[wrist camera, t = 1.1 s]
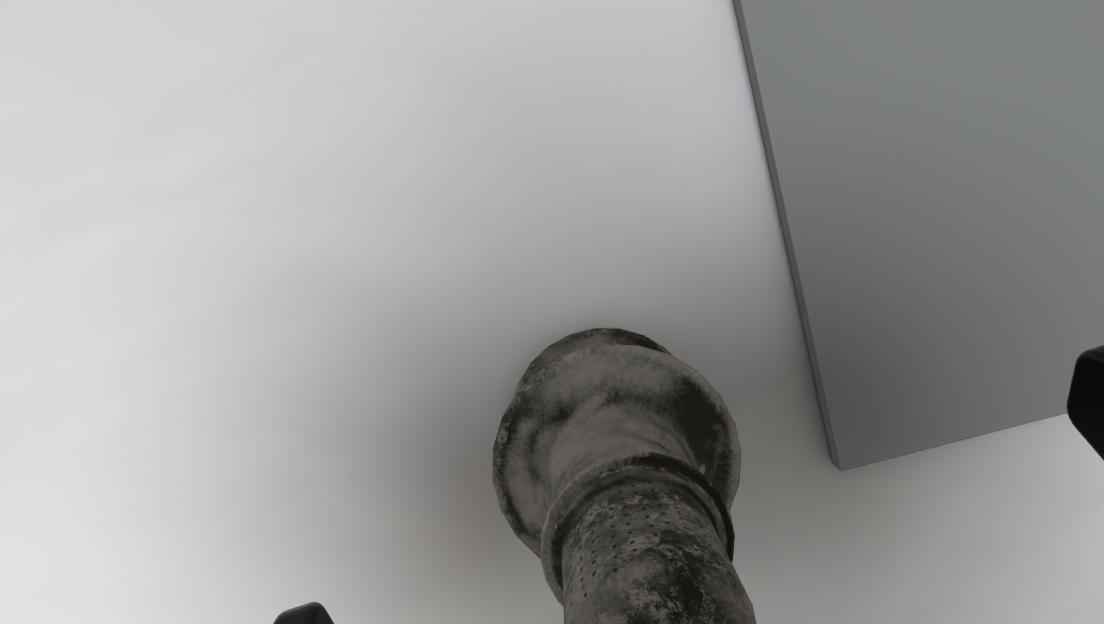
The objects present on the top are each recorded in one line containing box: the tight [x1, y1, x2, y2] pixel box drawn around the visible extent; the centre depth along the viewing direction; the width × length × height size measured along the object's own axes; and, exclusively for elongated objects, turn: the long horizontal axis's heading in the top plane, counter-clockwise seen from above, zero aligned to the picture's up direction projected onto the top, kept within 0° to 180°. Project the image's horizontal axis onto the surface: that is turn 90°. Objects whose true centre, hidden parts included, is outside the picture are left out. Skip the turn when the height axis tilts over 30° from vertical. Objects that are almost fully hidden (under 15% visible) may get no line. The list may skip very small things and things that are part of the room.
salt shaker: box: [493, 328, 756, 624], centre depth 15 cm, size 6×6×12 cm
